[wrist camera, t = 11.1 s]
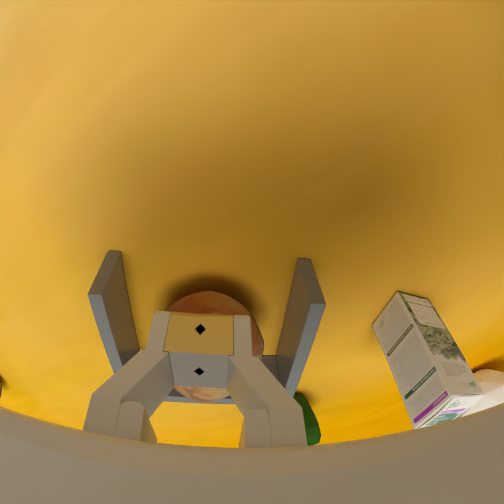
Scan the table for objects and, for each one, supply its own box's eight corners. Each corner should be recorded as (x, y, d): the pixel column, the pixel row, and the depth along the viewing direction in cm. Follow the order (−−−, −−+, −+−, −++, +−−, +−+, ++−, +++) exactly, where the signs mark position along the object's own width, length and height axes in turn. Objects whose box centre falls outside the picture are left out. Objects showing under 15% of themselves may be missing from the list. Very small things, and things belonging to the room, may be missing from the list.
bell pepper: (258, 416, 46) (263, 474, 38) (252, 391, 42) (258, 457, 33) (311, 409, 46) (322, 465, 38) (313, 382, 42) (327, 447, 33)
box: (310, 259, 30) (325, 303, 25) (284, 361, 38) (290, 402, 33) (108, 250, 28) (87, 294, 23) (132, 355, 36) (123, 396, 31)
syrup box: (369, 325, 36) (411, 434, 24) (397, 288, 33) (454, 399, 21) (403, 331, 37) (446, 428, 25) (430, 296, 34) (486, 395, 22)
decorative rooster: (426, 416, 56) (458, 513, 35) (430, 386, 47) (475, 506, 27) (516, 368, 52) (557, 451, 31) (533, 328, 43) (589, 424, 23)
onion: (267, 330, 35) (278, 411, 26) (180, 346, 35) (173, 424, 27) (246, 260, 29) (254, 348, 21) (145, 282, 30) (123, 367, 22)
